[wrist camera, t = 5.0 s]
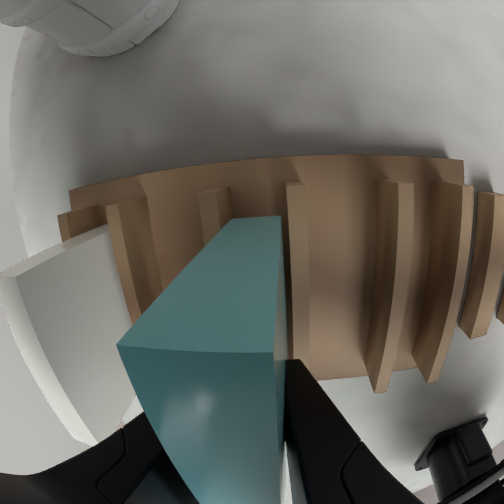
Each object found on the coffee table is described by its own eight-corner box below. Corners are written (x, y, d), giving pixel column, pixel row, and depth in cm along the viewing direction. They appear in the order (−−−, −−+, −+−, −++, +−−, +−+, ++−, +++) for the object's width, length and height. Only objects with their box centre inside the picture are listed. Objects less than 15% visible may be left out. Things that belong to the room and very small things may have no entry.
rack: (427, 351, 14) (451, 389, 10) (125, 359, 16) (100, 394, 13) (450, 159, 11) (495, 162, 7) (82, 187, 13) (36, 197, 10)
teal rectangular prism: (288, 382, 11) (281, 536, 4) (250, 382, 11) (222, 532, 5) (280, 215, 9) (273, 352, 2) (231, 218, 9) (116, 344, 3)
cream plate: (163, 350, 14) (103, 450, 7) (137, 348, 14) (74, 438, 7) (132, 220, 12) (15, 277, 5) (105, 223, 12) (-9, 276, 5)
